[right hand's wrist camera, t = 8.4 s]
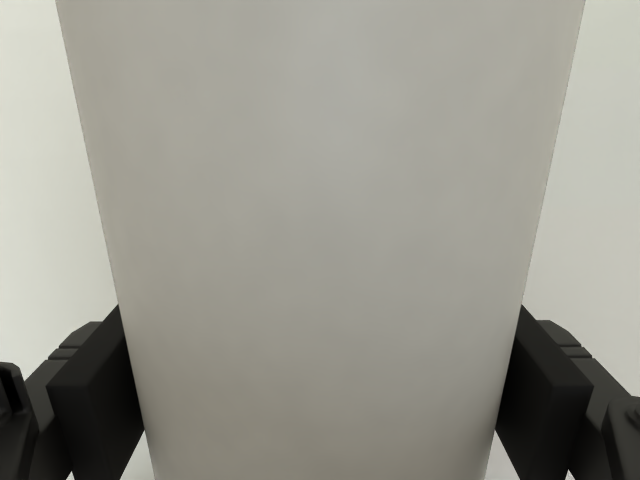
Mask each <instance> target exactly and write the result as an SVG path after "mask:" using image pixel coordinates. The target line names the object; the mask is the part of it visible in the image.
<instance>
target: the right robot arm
mask: <svg viewBox="0 0 640 480" xmlns="http://www.w3.org/2000/svg"><path fill="white" fill-rule="evenodd" d="M144 430H145V428H144V424H143V419H142V414H141V409H140V404H139V400H138V395H137V390H136V385H135V380H134V376H133V371H132V366H131V361H130V356H129V352H128V347H127V342H126V337H125V332H124V328H123V323H122V318H121V313H120V308H119V304H118V305H117V306H116V307H115V308H114V309H113V310H112V311H111V313H110V314H109V315H108V316H107V317H106V318H105V319H104V320H103V322H89V323H87V324H86V325H84V326H82V327H81V328H79V329H77V330H76V331H74V332H72V333H71V334H70V335H69V336H68V337H67V338H66V339H65V340H64V341H63V342H62V343H61V344H60V345H59V349H56V350H55V351H54V352H53V353H52V354H51V355H50V356H49V357H48V360H45V361H44V362H43V363H42V364H41V365H40V366H39V367H38V368H37V369H36V370H35V371H34V372H33V373H32V374H31V375H30V376H29V377H28V378H27V379H26V380H25V381H24V380H23V377H22V374H21V371H20V368H19V367H18V366H16V365H15V364H13V363H7V362H0V480H66V479H67V477H68V476H69V474H70V472H71V471H72V473H73V476H74V479H75V480H120V478H121V476H122V474H123V472H124V470H125V468H126V466H127V464H128V462H129V460H130V458H131V456H132V454H133V452H134V450H135V448H136V446H137V444H138V442H139V440H140V438H141V436H142V434H143V432H144ZM495 430H496V432H497V434H498V436H499V438H500V440H501V442H502V444H503V446H504V448H505V450H506V452H507V454H508V456H509V458H510V460H511V462H512V464H513V466H514V468H515V470H516V472H517V474H518V476H519V478H520V480H565V478H566V475H567V472H568V469H569V471H570V472H571V474H572V475H573V477H574V479H575V480H640V397H636V396H631V395H630V394H629V393H628V392H627V391H626V390H625V389H624V388H623V387H622V386H621V385H620V384H619V383H618V382H617V381H616V380H615V379H614V378H613V377H612V376H611V375H610V374H609V372H608V371H607V370H606V369H605V368H604V367H603V366H602V365H601V364H600V363H599V362H598V361H597V360H596V359H595V358H592V355H591V354H590V353H589V352H588V351H587V350H586V349H585V348H584V347H581V344H580V343H579V342H578V341H577V340H576V339H575V338H574V337H573V336H572V335H571V334H570V333H569V332H568V331H567V330H565V329H563V328H562V327H560V326H558V325H557V324H555V323H553V322H552V321H550V320H535V319H534V317H533V316H532V315H531V314H530V313H529V312H528V311H527V310H526V308H525V307H524V306H523V305H522V304H521V308H520V313H519V317H518V322H517V327H516V331H515V336H514V341H513V346H512V350H511V355H510V360H509V365H508V369H507V374H506V379H505V383H504V388H503V393H502V398H501V402H500V407H499V412H498V417H497V421H496V426H495Z"/></svg>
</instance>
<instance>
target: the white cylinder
mask: <svg viewBox="0 0 640 480" xmlns="http://www.w3.org/2000/svg"><path fill="white" fill-rule="evenodd" d="M55 1H56V6H57V11H58V16H59V21H60V25H61V30H62V35H63V40H64V45H65V49H66V54H67V59H68V64H69V69H70V73H71V78H72V83H73V88H74V93H75V97H76V102H77V107H78V112H79V117H80V121H81V126H82V131H83V136H84V141H85V145H86V150H87V155H88V160H89V165H90V169H91V174H92V179H93V184H94V189H95V193H96V198H97V203H98V208H99V213H100V217H101V222H102V227H103V232H104V237H105V241H106V246H107V251H108V256H109V261H110V265H111V270H112V275H113V280H114V285H115V289H116V294H117V299H118V304H119V308H120V313H121V318H122V323H123V328H124V332H125V337H126V342H127V347H128V352H129V356H130V361H131V366H132V371H133V376H134V380H135V385H136V390H137V395H138V400H139V404H140V409H141V414H142V419H143V424H144V428H145V433H146V438H147V443H148V448H149V452H150V457H151V462H152V467H153V472H154V476H155V480H484V478H485V473H486V469H487V464H488V459H489V454H490V450H491V445H492V440H493V435H494V431H495V426H496V421H497V417H498V412H499V407H500V402H501V398H502V393H503V388H504V383H505V379H506V374H507V369H508V365H509V360H510V355H511V350H512V346H513V341H514V336H515V331H516V327H517V322H518V317H519V313H520V308H521V303H522V298H523V294H524V289H525V284H526V279H527V275H528V270H529V265H530V261H531V256H532V251H533V246H534V242H535V237H536V232H537V227H538V223H539V218H540V213H541V209H542V204H543V199H544V194H545V190H546V185H547V180H548V175H549V171H550V166H551V161H552V156H553V152H554V147H555V142H556V138H557V133H558V128H559V123H560V119H561V114H562V109H563V104H564V100H565V95H566V90H567V86H568V81H569V76H570V71H571V67H572V62H573V57H574V52H575V48H576V43H577V38H578V34H579V29H580V24H581V19H582V15H583V10H584V5H585V0H55Z"/></svg>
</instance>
